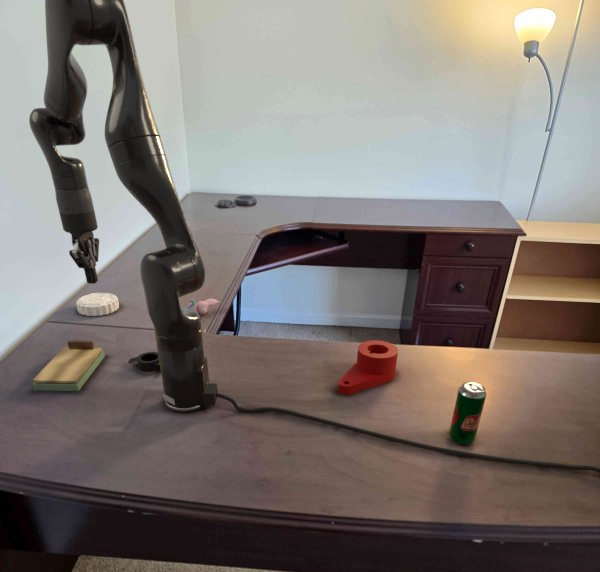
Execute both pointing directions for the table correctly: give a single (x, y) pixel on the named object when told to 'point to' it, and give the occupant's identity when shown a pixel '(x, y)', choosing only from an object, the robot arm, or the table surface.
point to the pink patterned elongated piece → (202, 305)
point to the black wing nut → (147, 362)
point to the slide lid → (69, 363)
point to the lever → (370, 367)
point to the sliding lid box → (71, 385)
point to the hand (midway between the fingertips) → (92, 282)
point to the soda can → (467, 413)
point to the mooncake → (97, 304)
